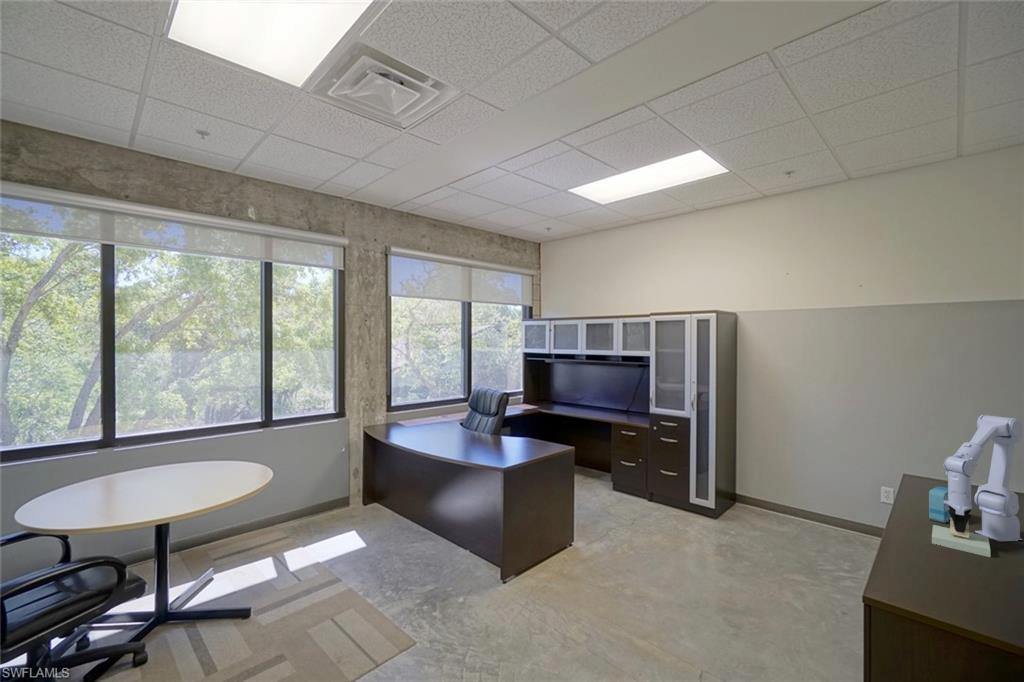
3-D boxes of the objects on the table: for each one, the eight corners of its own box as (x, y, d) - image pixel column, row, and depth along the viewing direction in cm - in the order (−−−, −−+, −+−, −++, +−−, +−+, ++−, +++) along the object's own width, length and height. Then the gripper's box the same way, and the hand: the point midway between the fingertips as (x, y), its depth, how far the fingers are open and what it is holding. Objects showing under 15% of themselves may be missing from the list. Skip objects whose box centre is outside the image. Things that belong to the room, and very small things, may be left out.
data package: (944, 524, 170) (944, 493, 170) (929, 520, 174) (928, 490, 174) (954, 517, 176) (954, 488, 176) (939, 514, 180) (939, 485, 180)
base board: (933, 531, 164) (933, 524, 164) (988, 543, 154) (988, 536, 154) (931, 543, 154) (931, 536, 154) (990, 557, 144) (990, 549, 144)
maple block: (950, 530, 157) (950, 517, 157) (968, 533, 154) (968, 521, 154) (950, 533, 154) (950, 521, 154) (968, 537, 151) (968, 525, 151)
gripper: (943, 484, 162) (944, 520, 162) (943, 493, 152) (943, 532, 152) (971, 488, 157) (971, 526, 157) (972, 498, 147) (973, 538, 147)
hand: (959, 529), depth 154 cm, fingers closed on maple block, 4 cm apart
